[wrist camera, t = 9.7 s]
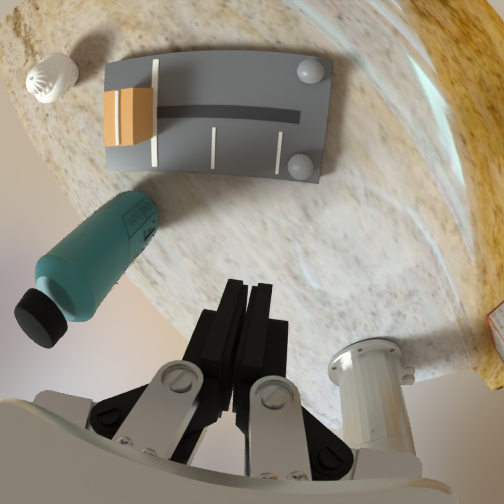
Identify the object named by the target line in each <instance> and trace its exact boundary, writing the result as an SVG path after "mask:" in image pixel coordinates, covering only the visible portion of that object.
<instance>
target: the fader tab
mask: <svg viewBox="0 0 504 504" xmlns="http://www.w3.org/2000/svg"><path fill="white" fill-rule="evenodd" d="M151 138H153V88H127V89H120V90H114V91H108V92H104V139H105V147H108V146H126V145H135V144H138V143H140V142H143V141H146V140H149V139H151Z"/></svg>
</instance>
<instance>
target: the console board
mask: <svg viewBox="0 0 504 504" xmlns="http://www.w3.org/2000/svg"><path fill="white" fill-rule="evenodd" d="M332 68H333V59H327V58H321V57H315V56H308V55H300V54H291V53H281V52H269V51H249V50H209V51H190V52H177V53H167V54H159V55H151V56H144V57H138V58H132V59H127V60H121V61H116V62H112V63H107V64H105V81H104V92H108V91H114V90H120V89H127V88H153V138H151V139H149V140H146V141H143V142H140V143H138V144H135V145H126V146H108V147H105V148H106V162H107V171H167V172H193V173H212V174H227V175H240V176H252V177H262V178H272V179H282V180H291V181H299V182H307V183H314V184H319V178H320V172H321V165H322V158H323V150H324V143H325V135H326V127H327V118H328V109H329V100H330V90H331V79H332Z"/></svg>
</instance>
